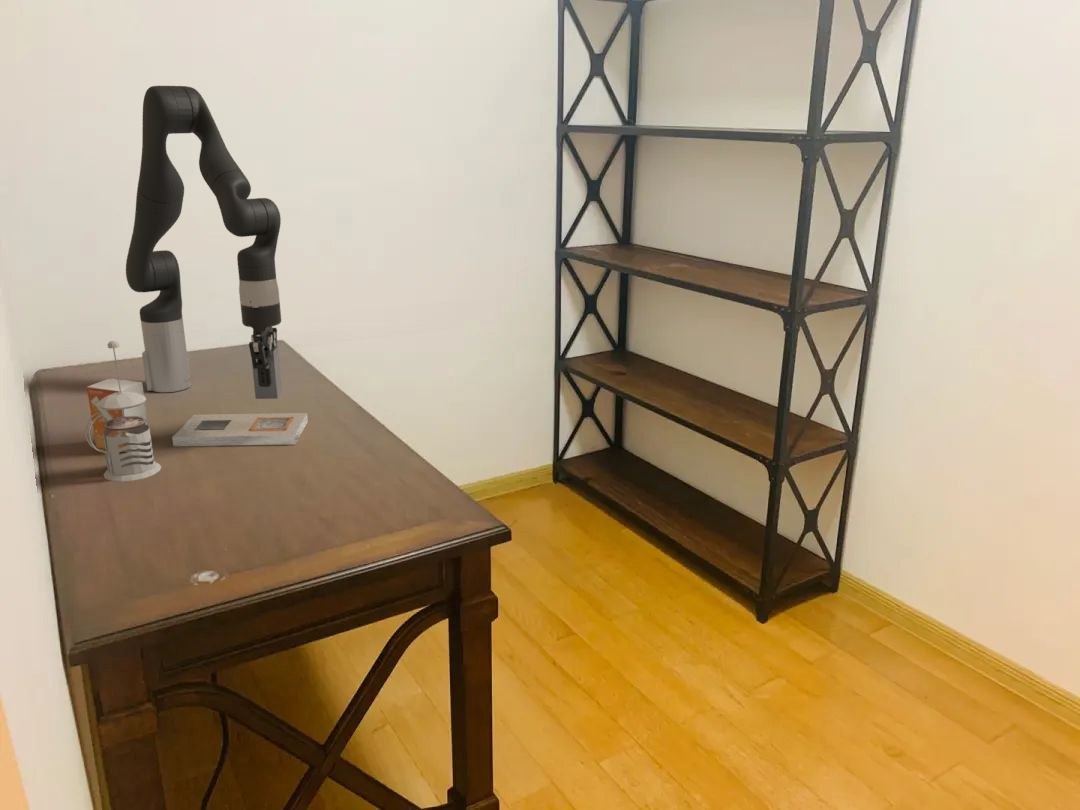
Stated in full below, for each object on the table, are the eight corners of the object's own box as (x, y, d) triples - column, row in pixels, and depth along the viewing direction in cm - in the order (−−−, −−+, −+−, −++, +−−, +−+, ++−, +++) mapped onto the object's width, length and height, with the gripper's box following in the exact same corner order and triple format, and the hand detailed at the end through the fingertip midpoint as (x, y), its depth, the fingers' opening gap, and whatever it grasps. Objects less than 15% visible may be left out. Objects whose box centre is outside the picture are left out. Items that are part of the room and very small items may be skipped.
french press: (170, 470, 156) (152, 340, 148) (105, 489, 148) (83, 352, 140) (148, 457, 163) (129, 331, 155) (84, 473, 155) (62, 342, 147)
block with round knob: (255, 398, 171) (250, 347, 168) (260, 392, 175) (255, 342, 172) (277, 398, 172) (272, 347, 168) (282, 392, 176) (277, 342, 172)
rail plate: (173, 446, 168) (172, 436, 167) (195, 423, 181) (193, 413, 181) (295, 444, 170) (294, 434, 169) (307, 421, 183) (306, 412, 182)
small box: (95, 448, 166) (85, 386, 162) (119, 438, 172) (110, 377, 168) (128, 453, 164) (119, 390, 160) (152, 442, 170) (143, 381, 166)
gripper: (249, 294, 174) (257, 373, 179) (231, 308, 160) (240, 393, 166) (286, 294, 174) (293, 373, 180) (271, 308, 161) (278, 393, 166)
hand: (267, 382), depth 173 cm, fingers closed on block with round knob, 4 cm apart
